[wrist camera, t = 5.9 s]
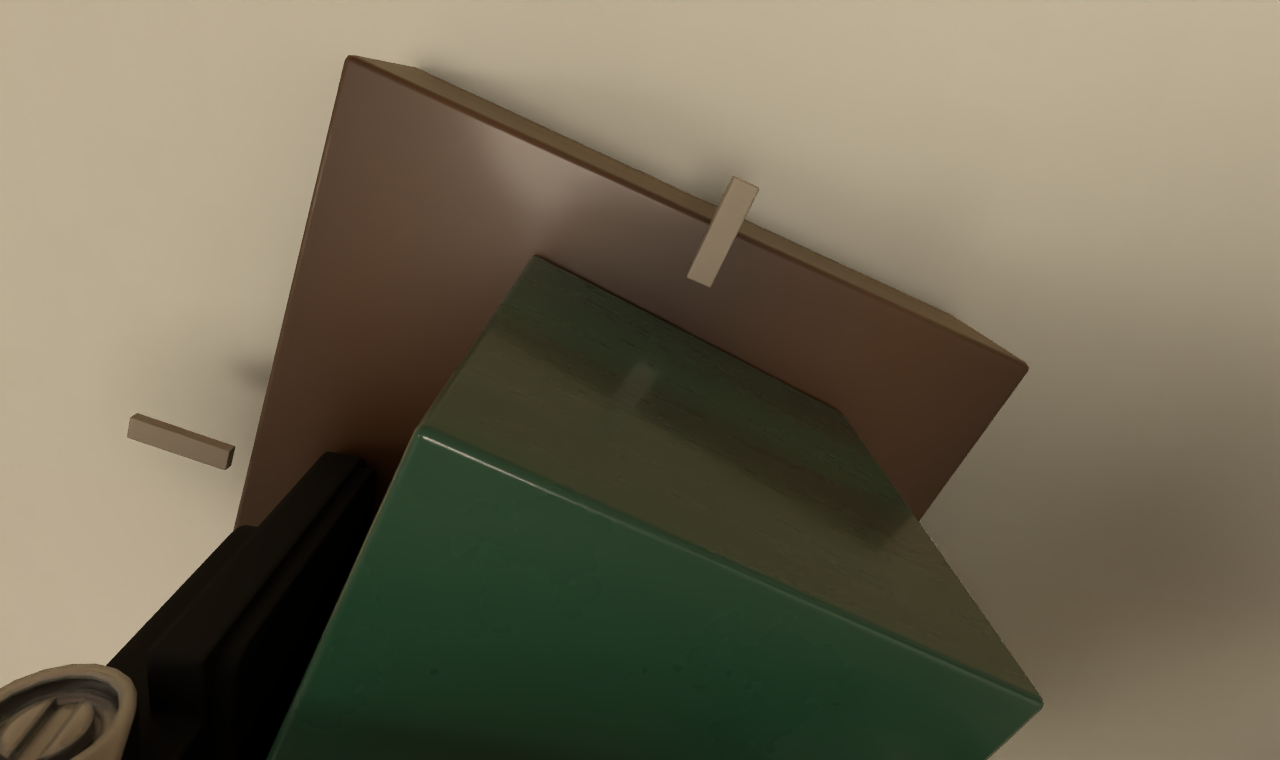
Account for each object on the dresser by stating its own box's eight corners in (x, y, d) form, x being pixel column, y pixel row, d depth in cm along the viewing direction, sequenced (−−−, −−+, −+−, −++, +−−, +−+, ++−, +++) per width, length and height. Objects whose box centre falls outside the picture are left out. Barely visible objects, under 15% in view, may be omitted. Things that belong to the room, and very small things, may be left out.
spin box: (533, 252, 8) (401, 444, 4) (845, 413, 9) (1071, 734, 5) (323, 696, 11) (98, 1124, 7) (575, 782, 12) (539, 1210, 8)
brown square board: (1045, 320, 12) (1158, 377, 9) (719, 777, 16) (735, 897, 14) (316, -26, 9) (202, -75, 7) (178, 619, 14) (82, 727, 11)
